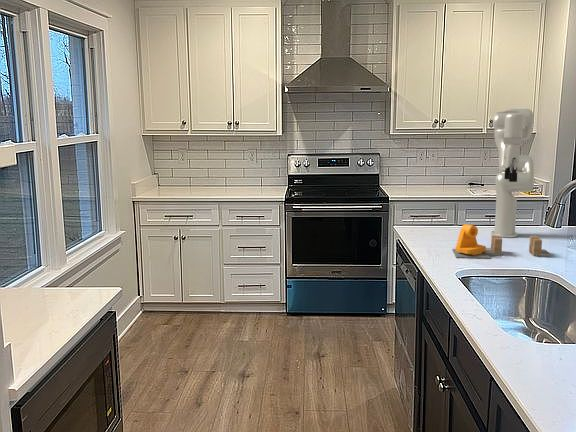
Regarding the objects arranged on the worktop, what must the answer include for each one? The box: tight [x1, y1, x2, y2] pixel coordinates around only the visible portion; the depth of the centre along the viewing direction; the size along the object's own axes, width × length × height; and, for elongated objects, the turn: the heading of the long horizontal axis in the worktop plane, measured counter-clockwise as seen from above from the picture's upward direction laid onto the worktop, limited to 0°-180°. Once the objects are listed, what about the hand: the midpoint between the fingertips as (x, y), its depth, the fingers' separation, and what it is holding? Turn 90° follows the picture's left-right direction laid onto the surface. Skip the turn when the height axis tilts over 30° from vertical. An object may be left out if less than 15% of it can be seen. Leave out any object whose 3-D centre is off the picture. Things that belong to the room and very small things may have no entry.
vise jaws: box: [483, 234, 553, 258], centre depth 242 cm, size 10×27×7 cm, turn 80°
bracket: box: [455, 223, 487, 255], centre depth 241 cm, size 11×7×12 cm, turn 119°
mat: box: [452, 248, 492, 260], centre depth 242 cm, size 14×14×1 cm
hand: (510, 180), depth 250 cm, fingers open, 9 cm apart
